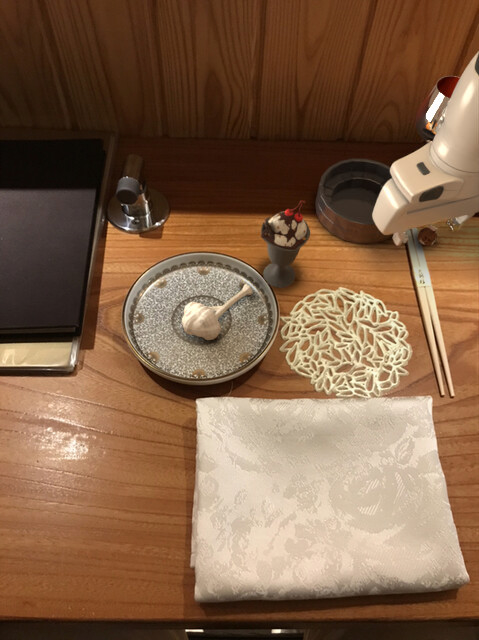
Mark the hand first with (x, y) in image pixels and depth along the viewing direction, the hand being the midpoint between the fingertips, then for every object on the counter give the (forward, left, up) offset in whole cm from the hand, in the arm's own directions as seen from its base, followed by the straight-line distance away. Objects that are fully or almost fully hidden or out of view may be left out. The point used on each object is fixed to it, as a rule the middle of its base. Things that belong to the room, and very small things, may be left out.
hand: (425, 234), depth 87 cm
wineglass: (-6, -13, -2) cm, 14 cm away
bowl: (+7, -9, -2) cm, 12 cm away
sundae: (+24, -1, -2) cm, 24 cm away
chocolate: (0, 0, -2) cm, 2 cm away
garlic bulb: (+35, +3, -2) cm, 35 cm away
